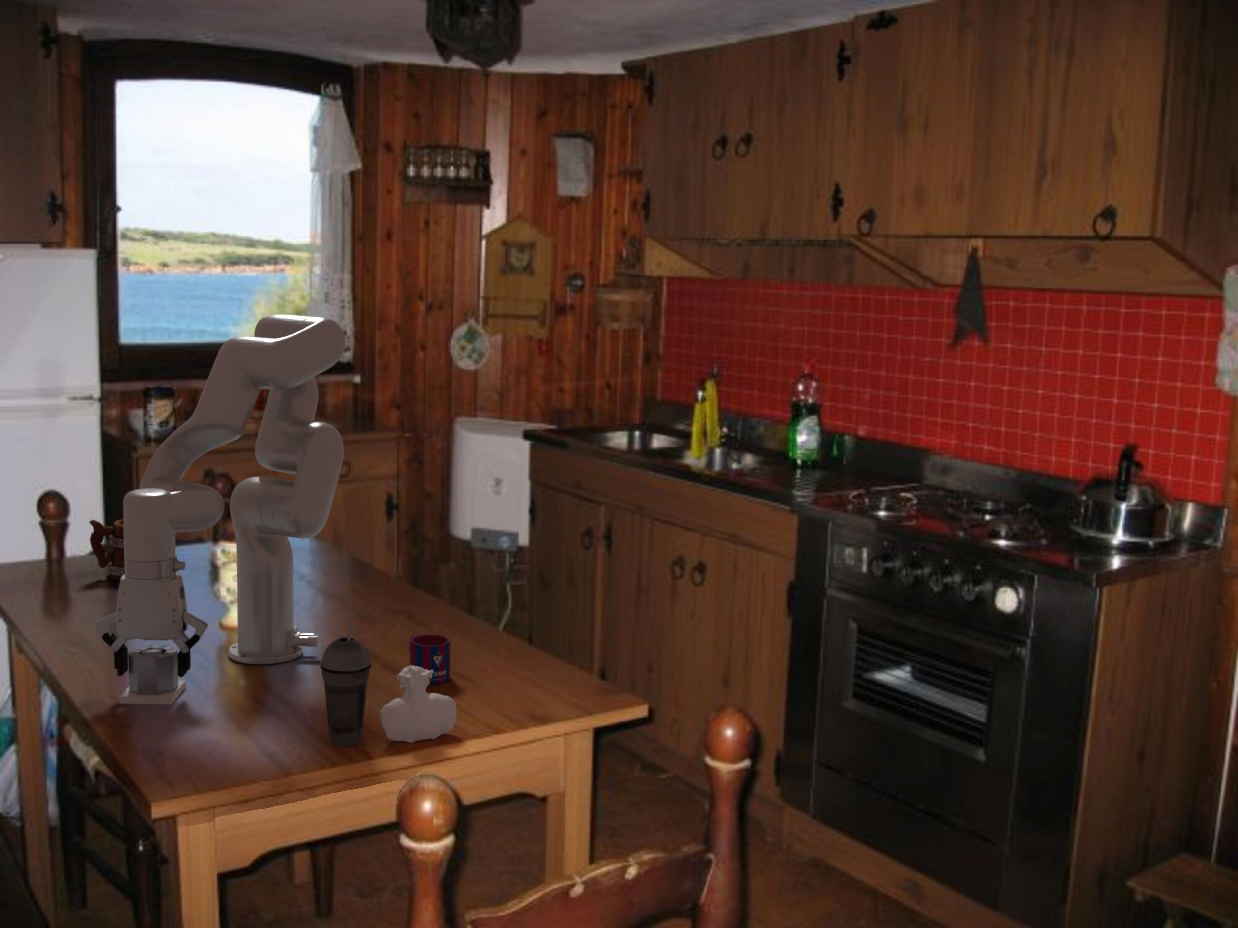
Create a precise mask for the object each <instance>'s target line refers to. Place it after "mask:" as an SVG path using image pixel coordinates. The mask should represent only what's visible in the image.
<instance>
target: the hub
mask: <svg viewBox="0 0 1238 928" xmlns="http://www.w3.org/2000/svg"><path fill="white" fill-rule="evenodd" d="M147 650H160V655H156V656H144V652H145V651H147ZM178 653H179V650H178V649H177V648H175V647H173V646H171V645H164V644H163V645H162V644H150V645H145V646H144V645H143V646H140V647H136V648H132V649H131V650H130V652H128V687H129V691H131V692H133V693H135V694H137V695H161V694H165V693H169V692H173V691H174V690H175V689H176V687H177V686H178V680H179V676H178V660H177V654H178Z"/></svg>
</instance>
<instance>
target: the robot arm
mask: <svg viewBox="0 0 1238 928" xmlns="http://www.w3.org/2000/svg"><path fill="white" fill-rule="evenodd" d="M253 335H254V336H236V337H235V336H234V337H232V338H229V339H228V340H226V341H225V342H223V344H222V345H221V347H220V348H219V350H218V353H217V355H216V357H215V360H214V362H213V365H212V368H211V369H210V372H209V374H208V377H207V380H206V383H205V385H204V387H203V390H202V393H201V395H200V397H199V399H198V402H197V405H196V407H195V409H194V411H193V414H192V415H191V416H190V418H188V419H187V420H186V421H185V422H183V424H181V425H180V426H178V428H176V429H175V430H173V432H172V433H171V434H170V435H169V436H168V437H167V438H166V439H164V441H163V442H162V443H161V444H160V445H159V446H158V447H157V448H156V450H155V451H154V453H153V455H152V456H151V458H150V460H149V462H148V464H147V467H146V469H145V472H144V473H143V476H142V479H141V481H140V484H139V487H138V488H139V489H133V490H130V491H128V492H127V493H125V495H124V497H123V501H122V506H123V507H122V508H123V515H122V516H123V519H124V556H125V574H124V575H123V576H122V577H121V580H120V581H119V586H118V593H117V602H116V610H115V612H113V613H111V614H109V615H107V616H106V617H103V618H101V619H100V620H98V621H97V622H96V623H95V624H94V627H95V628H96V630H97V632H98V634H99V635H100V636H101V639H102V641H103V642H104V643H106V644H107V645H108V647H110V649H111V650H110V651H112V652H113V663H114V664H113V665H114V670H117V671H116V672H117V677H122V676H123V675H125V674H126V672H129V662H128V654H129V650H128V647H127V645H126V643H127V641H130V640H131V641H134V640H135V641H172V642H173V643H174V645H176V646H177V647H178V649H179V651H178V654H177V660H178V678H183V677H185V675H186V674H187V673H188V671H190V669H191V667H192V666H191V661H192V660H191V659H192V658H191V649H192V648H193V647H194V646H195V645H196V644H198V642H199V641H200V640H201V639H202V637H203V636H204V634H205V632H206V630H207V629H208V627H209V624H208V623H207V622H206V621H204V620H202V619H200V618H198V617H197V616H195V615H193V614H191V613H189V612H188V602H187V596H186V590H185V584H184V580H183V577H182V574H180V573H177V572H179V571H185V570H186V569H185V568H186V562H185V561H182V560H178V555H176V534H178V533H183V532H202V531H205V530H208V529H210V528H212V527H214V526H215V525H216V524H218V523H219V521H220V520H221V519H222V517H223V514H224V511H225V501H224V499H223V497H222V495H221V493H220V492H219V491H218V490H216V489H215V488H213V487H211V486H209V485H207V484H202V483H196V482H191V481H185V480H182V479H183V477H184V476H185V474H186V472H187V471H188V469H189V468H190V466H191V465H192V464H193V463H194V462H195V461H196V460H197V459H199V458H200V457H202V456H203V455H205V454H206V453H208V452H209V451H212V450H214V449H217V448H219V447H223V446H225V445H227V444H229V443H231V442H232V443H233V441H235V440H238V439H239V438H241V437H242V436H243V435H244V433H245V431H246V428H247V426H248V423H249V421H250V418H251V417H252V413H253V410H254V408H255V405H256V404H257V400H258V397H259V396H260V393H261V390H269V392H268V397H267V399H266V400H267V402H266V405H265V409H264V412H263V415H262V419H261V421H260V427H259V430H258V434H257V438H256V442H255V447H254V455H255V457H254V458H255V459H256V461H257V463H258V464H259V466H261V467H263V468H265V469H268V470H270V471H274V472H275V471H276V472H280V473H287V474H292V475H295V479H294V480H288V479H284V478H277V477H270V476H251V477H249V478H245V479H243V480H242V481H240V482H239V483H237V485H236V486H235V487H234V489H233V490H232V492H231V495H230V500H229V510H230V511H229V512H230V517H231V521H232V526H233V531H234V536H235V544H236V545H235V546H236V586H237V587H236V599H237V600H236V602H237V605H236V608H237V609H236V610H237V612H236V613H237V614H236V615H237V642H236V643H233V644H232V645H230V646H229V648H228V657H229V658H230V659H231V660H233V661H235V662H238V663H240V664H241V663H243V664H249V665H273V664H274V665H275V664H281V663H284V662H285V663H286V662H289V661H292V660H295V659H297V658H299V657H300V656H301V655H302V654H303V652H304V651H303V650H304V649H303V647H308V648H318V647H319V639H320V638H319V636H318V635H315V633H307V632H306V633H302V632H301V631H299V629H298V627H299V625H298V624H297V625H296V624H294V616H295V615H294V614H295V613H294V609H295V608H294V601H295V600H294V566H295V565H294V553H293V549H292V545H291V543H290V539H289V538H294V539H311V538H313V537H315V536H317V535H319V533H320V532H321V531H322V530H323V528H324V526H325V525H326V523H327V521H328V518H329V515H330V512H331V508H332V505H333V502H334V497H335V493H336V490H337V487H338V483H339V479H340V475H341V470H342V468H343V463H344V459H345V458H344V457H345V449H344V442H343V437H342V435H341V434H340V432H339V431H338V429H337V428H335V426H333V425H331V424H329V423H326V422H323V421H315V417H316V412H317V407H318V403H319V396H320V395H319V386H318V383H317V380H316V378H315V377H316V376H318V375H320V374H321V373H323V372H326V371H327V370H329V369H331V368H332V367H333V366H334V365H336V364H337V363H338V362H339V361H340V359H341V358H342V356H343V355H344V352H345V349H346V335H345V331H344V329H343V328H342V327H341V325H340V324H339V323H338V322H336V321H335V320H333V319H331V318H328V317H321V316H310V315H309V316H307V315H297V314H282V313H281V314H278V313H277V314H269V315H267V316H264V317H262V318H260V320H258V321H257V323H256V324H255V328H254V333H253ZM288 537H289V538H288ZM114 623H115V628H116V635H115V633H113V632H112V631H111V630H110V628H109V625H111V624H114ZM189 626H190V627H192V628H194V629H195V632H194V633H193V635H192V636H191V637H189V636H188V635H187V634H186V631H187V630H188V628H189Z"/></svg>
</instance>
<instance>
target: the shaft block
mask: <svg viewBox="0 0 1238 928" xmlns="http://www.w3.org/2000/svg"><path fill="white" fill-rule="evenodd" d="M156 655H160V650H147V651H145V652H144V656H156ZM186 688H187V680H185V679H184V680H181V679H178V686H177V687H176V689H175V690H174V691H173V692H169V693H165V694H161V695H137V694H135V693H133V692H131V691H129V686H128V687H127V688H126V689H124V691H123V692H121V694H120V695H119V697H118V700H119V701H118V702H119V705H166V706H167V705H169V706H170V705H173V704H174V702H176V700H177V699H178V698H179V696H181V694H182V693H183V692H184V690H186Z"/></svg>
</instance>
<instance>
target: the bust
mask: <svg viewBox="0 0 1238 928" xmlns="http://www.w3.org/2000/svg"><path fill="white" fill-rule="evenodd" d="M433 672H434V671H433V670H430V671H429V670H427V669H423V668H421V667H420V666H418V667H417V666H414V665H413V666H412V665H410V664H409V665H408V666H406V667H404V668H402V669H401V671H400V672H399V673H398V674H396V675H395V679H396V680H397V681H399V689H400V688H401V689H402V688H404V687H405V689H404V693H403V695H402V697H397V698H394V699H392V700H391V701H389V702H388V703H386V704H384V706H383V707H382V708H381V710H380V712H379V714H378V717H379V720H380V723H381V726H382V728H383V731H384V733H385V734H386V737H387V739H388V740H390V741H393V742H406V743H411V744H412V743H414V742H418V741H424V740H429V739H431V740H435V739H437V738H438V737H440V736H441V735H445V734H447V733H449V732H450V731H452V729H453V728H454V726H455V724H456V720H457V704H456V702H455V700H454V699H453V698H451V697H450V696H448V695H443V694H441V693H437V692H431V693H428V692H427V691H426V689H427V687H428V686H430V685H429V683H430V682H429V678H432V674H433ZM428 677H429V678H428Z"/></svg>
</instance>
